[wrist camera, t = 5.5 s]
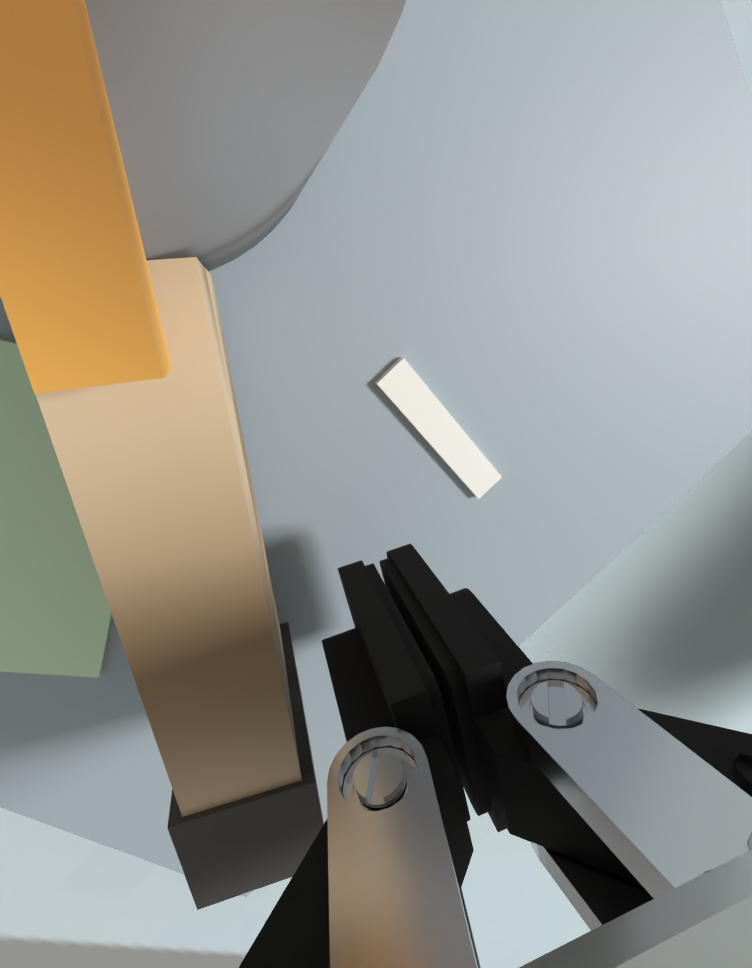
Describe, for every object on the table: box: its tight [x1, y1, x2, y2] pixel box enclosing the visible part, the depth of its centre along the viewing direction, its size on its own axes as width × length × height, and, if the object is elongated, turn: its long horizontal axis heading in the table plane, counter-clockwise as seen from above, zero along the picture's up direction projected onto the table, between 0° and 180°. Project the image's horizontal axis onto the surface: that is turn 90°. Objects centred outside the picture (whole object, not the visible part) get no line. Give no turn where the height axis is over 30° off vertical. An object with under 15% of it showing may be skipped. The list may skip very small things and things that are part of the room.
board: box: [0, 0, 752, 897], centre depth 9 cm, size 28×24×1 cm
